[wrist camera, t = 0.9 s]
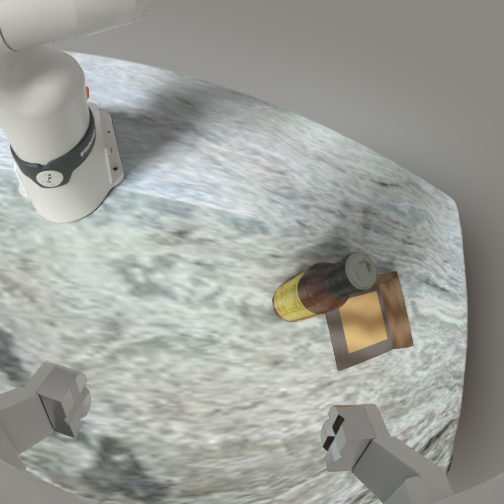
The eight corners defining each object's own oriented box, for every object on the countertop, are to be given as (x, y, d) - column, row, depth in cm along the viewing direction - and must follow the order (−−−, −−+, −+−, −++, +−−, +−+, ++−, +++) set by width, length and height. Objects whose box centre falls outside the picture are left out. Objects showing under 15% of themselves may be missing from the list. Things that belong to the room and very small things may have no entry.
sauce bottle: (307, 287, 50) (389, 249, 32) (304, 325, 47) (389, 305, 29) (270, 279, 48) (340, 234, 30) (265, 319, 46) (338, 295, 28)
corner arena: (319, 291, 50) (336, 284, 46) (378, 278, 55) (396, 271, 50) (337, 370, 47) (355, 370, 42) (395, 347, 51) (413, 345, 47)
